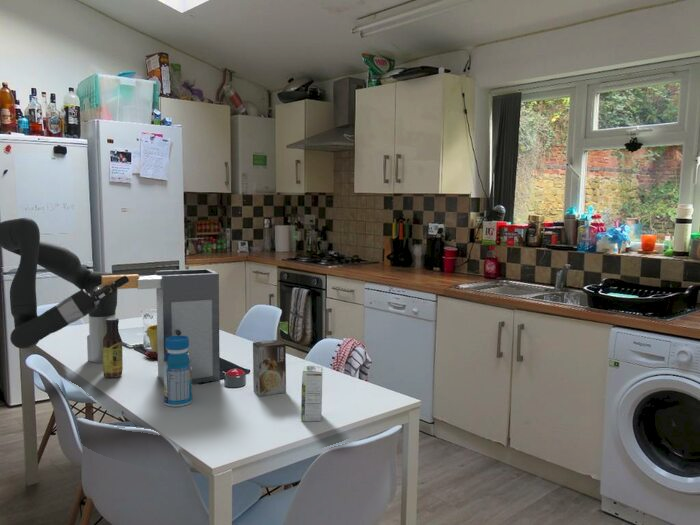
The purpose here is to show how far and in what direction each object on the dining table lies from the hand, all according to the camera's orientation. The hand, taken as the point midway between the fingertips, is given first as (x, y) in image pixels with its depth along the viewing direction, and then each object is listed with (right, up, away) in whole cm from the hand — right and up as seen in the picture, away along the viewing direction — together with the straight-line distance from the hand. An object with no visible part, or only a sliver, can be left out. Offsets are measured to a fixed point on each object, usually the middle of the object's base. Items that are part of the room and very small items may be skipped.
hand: (126, 277), depth 187 cm
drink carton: (+61, -40, -21) cm, 76 cm away
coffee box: (+46, -37, 0) cm, 59 cm away
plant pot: (-4, -31, +46) cm, 55 cm away
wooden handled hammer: (+5, -3, +3) cm, 7 cm away
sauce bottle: (-10, -34, +13) cm, 38 cm away
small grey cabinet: (+16, -35, +12) cm, 40 cm away
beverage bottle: (+20, -38, -11) cm, 44 cm away
